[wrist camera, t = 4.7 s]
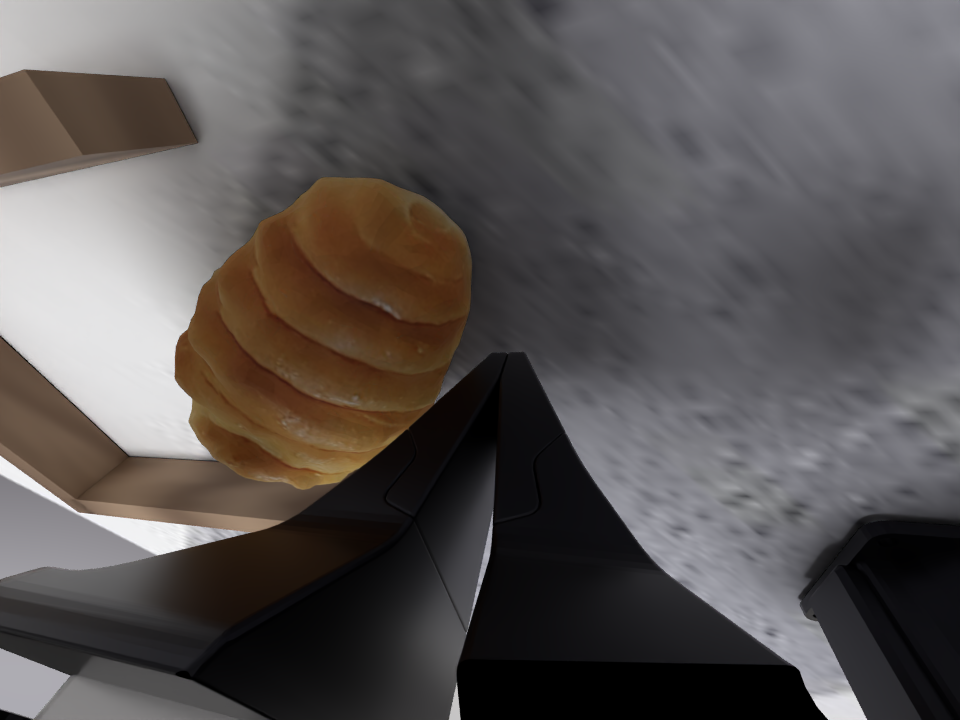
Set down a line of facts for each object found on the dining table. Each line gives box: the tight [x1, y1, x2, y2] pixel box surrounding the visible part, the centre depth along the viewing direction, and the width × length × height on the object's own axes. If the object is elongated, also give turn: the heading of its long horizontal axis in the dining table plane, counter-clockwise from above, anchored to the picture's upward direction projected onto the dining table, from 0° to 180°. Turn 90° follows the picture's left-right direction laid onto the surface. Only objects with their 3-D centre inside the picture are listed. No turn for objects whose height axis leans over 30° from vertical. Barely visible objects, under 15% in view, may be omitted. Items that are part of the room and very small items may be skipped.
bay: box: [0, 70, 357, 532], centre depth 12 cm, size 15×14×2 cm
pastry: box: [175, 177, 472, 490], centre depth 9 cm, size 9×7×4 cm
